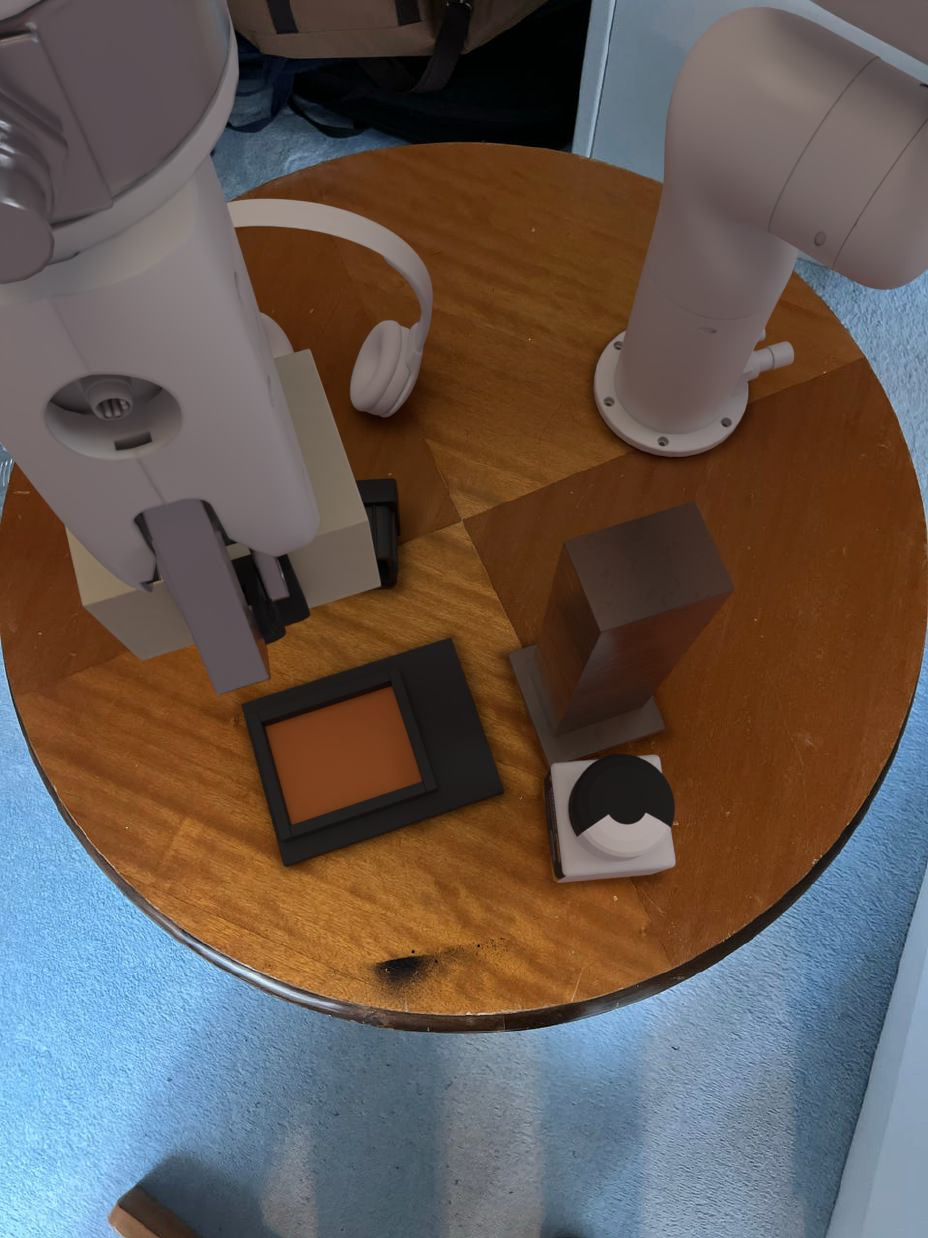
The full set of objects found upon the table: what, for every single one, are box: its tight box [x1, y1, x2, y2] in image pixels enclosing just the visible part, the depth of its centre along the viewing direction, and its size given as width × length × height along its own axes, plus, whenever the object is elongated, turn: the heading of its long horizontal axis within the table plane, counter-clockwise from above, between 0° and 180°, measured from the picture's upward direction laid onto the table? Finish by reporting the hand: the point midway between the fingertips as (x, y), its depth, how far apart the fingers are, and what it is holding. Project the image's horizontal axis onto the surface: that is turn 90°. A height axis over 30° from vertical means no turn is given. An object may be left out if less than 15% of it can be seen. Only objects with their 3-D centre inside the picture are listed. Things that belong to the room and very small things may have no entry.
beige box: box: [64, 348, 381, 662], centre depth 29 cm, size 8×6×5 cm
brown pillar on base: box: [506, 500, 736, 771], centre depth 57 cm, size 9×9×25 cm
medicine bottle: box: [542, 753, 677, 884], centre depth 60 cm, size 7×7×12 cm
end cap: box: [355, 477, 402, 590], centre depth 69 cm, size 10×7×7 cm
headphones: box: [226, 198, 434, 418], centre depth 67 cm, size 7×18×20 cm, turn 85°
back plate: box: [240, 636, 505, 868], centre depth 66 cm, size 16×12×3 cm
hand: (232, 530), depth 30 cm, fingers closed on beige box, 6 cm apart
